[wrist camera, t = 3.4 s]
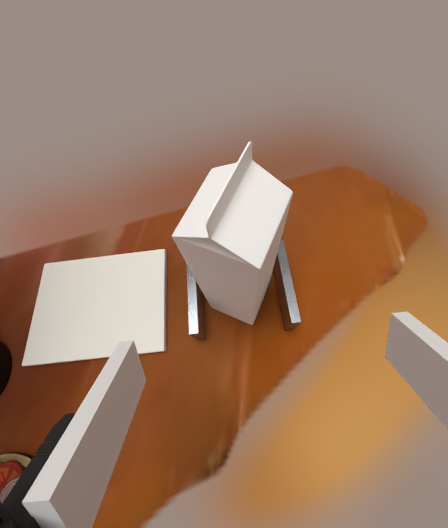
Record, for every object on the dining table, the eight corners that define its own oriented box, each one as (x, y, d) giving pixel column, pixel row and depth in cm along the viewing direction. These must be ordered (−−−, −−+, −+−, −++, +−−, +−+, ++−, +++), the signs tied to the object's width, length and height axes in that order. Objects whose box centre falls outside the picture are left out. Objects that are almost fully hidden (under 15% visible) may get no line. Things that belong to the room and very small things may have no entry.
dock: (197, 339, 31) (189, 334, 26) (193, 260, 35) (186, 244, 31) (293, 329, 31) (301, 322, 26) (276, 250, 35) (281, 232, 30)
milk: (210, 307, 33) (149, 205, 12) (229, 268, 35) (201, 125, 14) (253, 326, 31) (262, 244, 11) (270, 284, 33) (303, 149, 13)
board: (28, 366, 31) (21, 365, 31) (49, 266, 37) (44, 263, 36) (166, 351, 31) (163, 350, 30) (166, 251, 36) (164, 248, 36)
